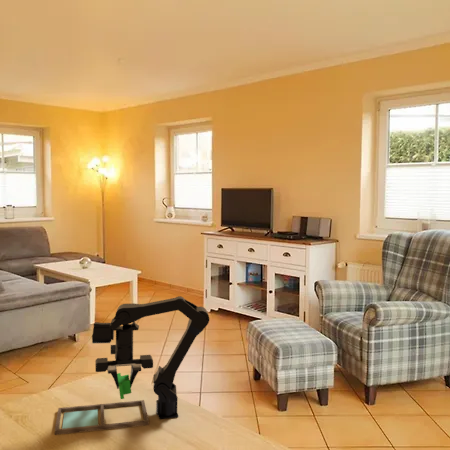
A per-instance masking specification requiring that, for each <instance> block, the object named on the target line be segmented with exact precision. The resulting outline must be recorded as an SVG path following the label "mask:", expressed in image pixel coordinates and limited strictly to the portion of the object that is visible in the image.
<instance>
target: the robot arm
mask: <svg viewBox="0 0 450 450" xmlns="http://www.w3.org/2000/svg"><path fill="white" fill-rule="evenodd" d="M175 311H179V312H180V313H181V314H183V315H184V316H185V317H187V318H188V322H187V325H186V329H185V331H184V332H183V334H182V336H181V338H180V340H179V341H178V343H177V345H176V346H175V349H174V350H173V352H172V354H171V356H170V357H169V359H168V360H167V363H166V364H165V365H164V366H163V367H162V366H160V365H159V366H158V368H157V371H156V372H155V373H154V374H153V379H152V382H153V383H152V384H153V387H152V388H153V392H154V394H155V395H157V400H156V401H155V402H156V404H155V405H156V406H155V411H156V415H157V416H158V419H159V420H162V419H165V420H166V419H173V418H179V413H178V399H179V398H178V394H177V393H178V392H177V385H176V384H175V383H174V381H175V377H176V374H177V372H178V370H179V368H180V366H181V365H182V362H183V360H185V358H186V355H187V354H188V352H189V350H190V348H191V346H192V345H193V343H194V341H195V339H196V338H197V336H199V335H200V334H201V333H202V332H203V331H204V329H206V327H207V326H208V325H209V323H210V315H209V312H208V311H207V309H206V308H205V307H203V306H198V305H197V304H194V303H193V302H191V301H189V300H187V299H186V298H184V297H183V296H175V297H172V298H168V299H167V298H166V299H162V300H155V301H151V302H147V303H135V302H134V303H132V302H131V303H123V304H120V305H119V306H118V307H117V309H116V312H115V315H114V317H113V318H112V319H111V321H110V322H100V321H99V322H97V321H95V322H94V323H93V329H92V335H91V343H92V344H110V355H114V360H108V357H98V358H96V359H95V361H94V362H95V364H94V365H95V373H104V372H106V371H107V374H108V375H111V376H112V378H113V381H114V383H115V385H116V389H117V390H119V384H118V376H117V374H118V369H117V367H125V366H130V374H129V380H130V386H131V387H132V386H133V384H134V381H135V378H137V375H138V373H139V372H142V368H143V369H144V370H145V369H153V368H154V360H153V357H152V355H151V354H142V355H139V358H134V331H138V330H139V329H140V325H139V324H138V323H136V322H137V321H138V320H141V319H142V318H146V317H151V316H155V315H159V314H160V315H161V314H166V313H171V312H175ZM114 338H115V339H114ZM114 340H115V344H111V342H112V341H114Z"/></svg>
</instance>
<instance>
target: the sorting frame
mask: <svg viewBox="0 0 450 450" xmlns="http://www.w3.org/2000/svg"><path fill="white" fill-rule="evenodd" d="M131 406H132V407H133V406H141V410H142V415H143V420H135V421H134V420H133V421H132V420H131V421H124V422H115V423H106V422H105V409H113V408H123V407H124V408H125V407H131ZM99 410H100V424H99V413H98V412H99ZM62 413H63V420H62V427H61V428H60V425H61V416H62ZM148 416H149V415H148V411H147V408H146V403H145V400H144V399H142V400H140V399H139V400H132V401H131V400H130V401H119V402H110V403H99V404H98V403H97V404H89V405H87V404H86V405H78V406H76V405H75V406H69V407H68V406H65V407H64V406H63V407H58V408H57V416H56V422H55V427H54V435H65V434H74V433H83V432H84V433H85V432H94V431H103V430H111V429H112V430H113V429H122V428H130V427H140V426H149V425H150V420H149V417H148Z"/></svg>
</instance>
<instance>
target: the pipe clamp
mask: <svg viewBox="0 0 450 450" xmlns="http://www.w3.org/2000/svg"><path fill="white" fill-rule="evenodd" d="M117 376H118V384H119V389H118V392H119V396H120V397H119V398H120V400H124V399H125V395H129V394H132V386H130V374H125V375H122V373H121V372H119V373H118V372H117Z"/></svg>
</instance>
